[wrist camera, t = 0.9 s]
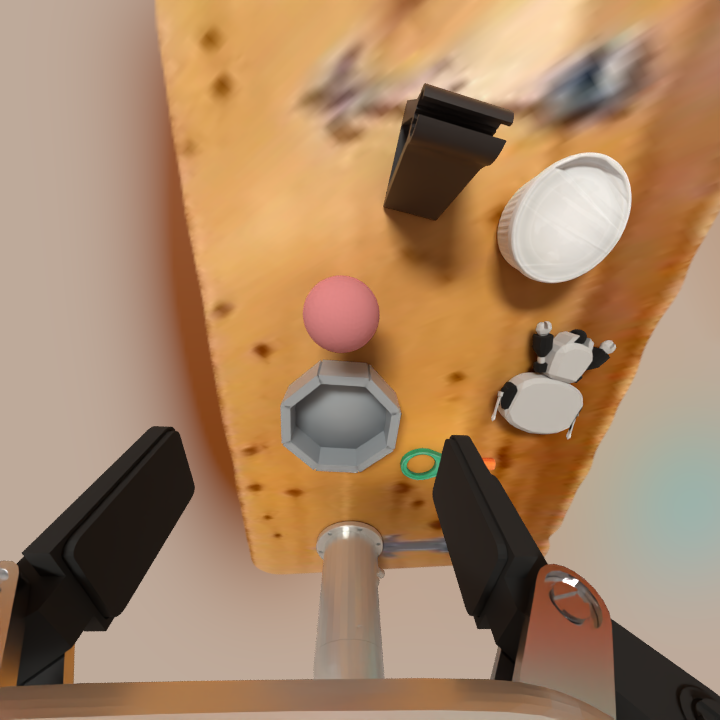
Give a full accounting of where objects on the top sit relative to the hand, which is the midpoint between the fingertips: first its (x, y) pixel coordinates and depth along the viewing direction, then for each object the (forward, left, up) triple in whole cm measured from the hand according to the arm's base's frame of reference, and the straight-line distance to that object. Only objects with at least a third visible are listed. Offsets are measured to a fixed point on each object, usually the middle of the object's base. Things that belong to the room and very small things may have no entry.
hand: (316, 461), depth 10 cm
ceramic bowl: (-12, +10, -26) cm, 30 cm away
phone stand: (+5, -16, -26) cm, 31 cm away
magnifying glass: (-31, +4, -27) cm, 41 cm away
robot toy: (-26, -15, -27) cm, 40 cm away
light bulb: (0, -1, -26) cm, 26 cm away
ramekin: (-8, -23, -26) cm, 36 cm away
